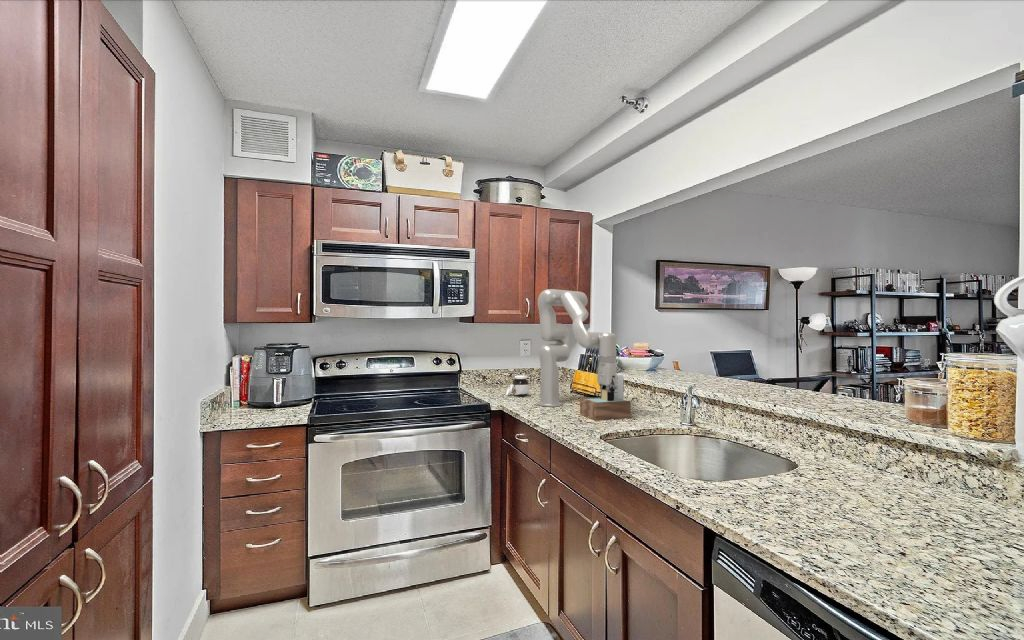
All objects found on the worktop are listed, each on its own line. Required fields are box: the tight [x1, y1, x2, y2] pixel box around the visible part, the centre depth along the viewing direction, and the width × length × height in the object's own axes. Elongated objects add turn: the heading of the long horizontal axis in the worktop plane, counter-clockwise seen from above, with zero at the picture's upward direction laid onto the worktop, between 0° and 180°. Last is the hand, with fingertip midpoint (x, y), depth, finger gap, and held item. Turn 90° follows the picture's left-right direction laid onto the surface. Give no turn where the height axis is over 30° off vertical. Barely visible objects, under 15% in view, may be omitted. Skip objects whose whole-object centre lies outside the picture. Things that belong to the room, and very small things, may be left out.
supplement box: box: [607, 372, 625, 400], centre depth 245 cm, size 10×9×17 cm
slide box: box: [579, 396, 632, 422], centre depth 218 cm, size 14×18×8 cm
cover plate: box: [587, 389, 627, 402], centre depth 218 cm, size 11×16×6 cm
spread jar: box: [506, 374, 530, 398], centre depth 278 cm, size 12×11×12 cm
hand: (607, 399), depth 218 cm, fingers closed on cover plate, 5 cm apart
